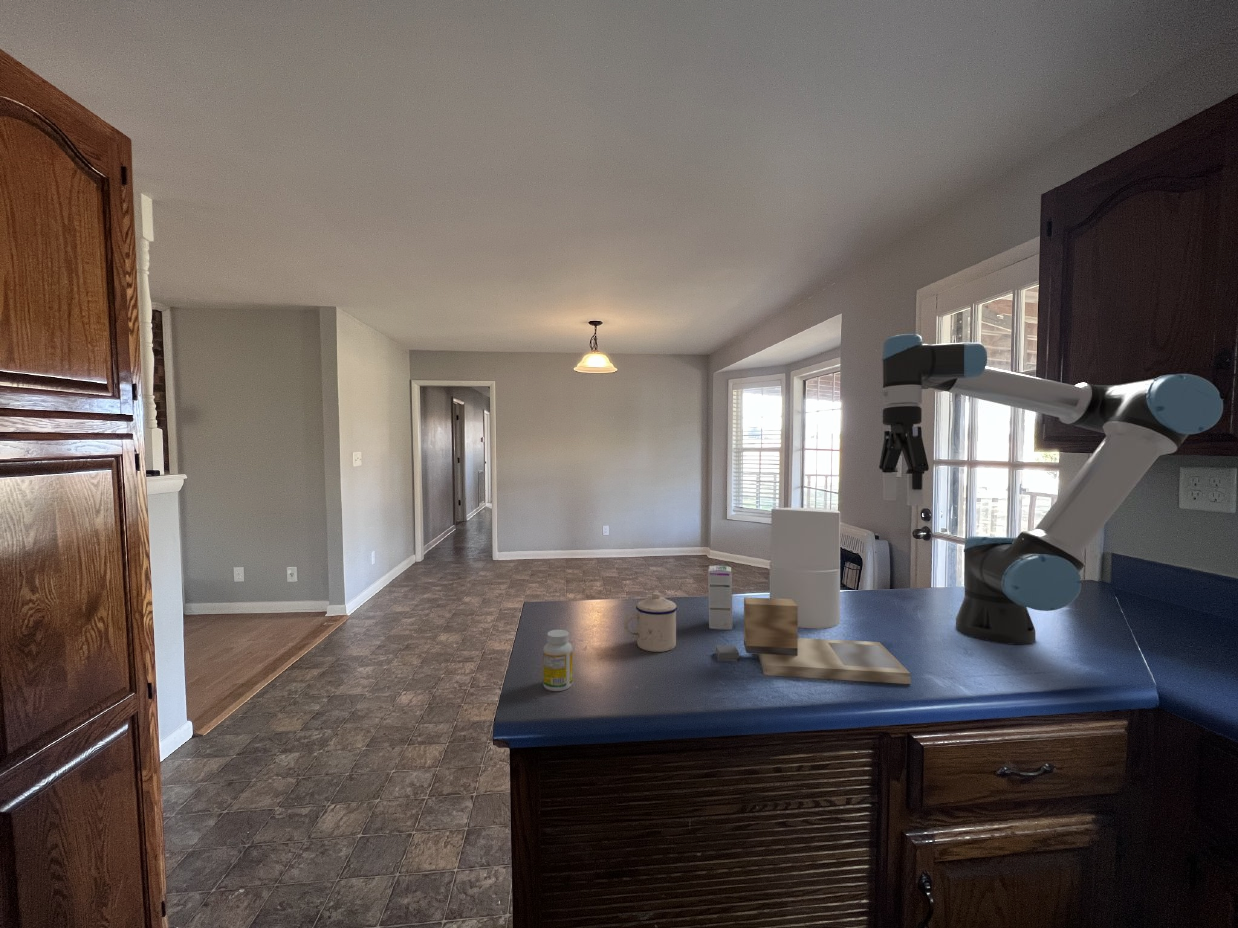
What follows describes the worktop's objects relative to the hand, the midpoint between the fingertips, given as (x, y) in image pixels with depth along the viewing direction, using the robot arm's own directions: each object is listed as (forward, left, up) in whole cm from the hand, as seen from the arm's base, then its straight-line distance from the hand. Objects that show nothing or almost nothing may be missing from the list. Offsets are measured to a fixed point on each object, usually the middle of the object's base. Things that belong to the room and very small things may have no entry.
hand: (901, 503), depth 111 cm
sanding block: (+30, +12, -30) cm, 44 cm away
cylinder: (+17, -18, -32) cm, 40 cm away
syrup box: (+39, -8, -32) cm, 51 cm away
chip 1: (+39, +12, -31) cm, 51 cm away
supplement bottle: (+70, +30, -32) cm, 83 cm away
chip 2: (+39, +12, -31) cm, 51 cm away
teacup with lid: (+55, +8, -32) cm, 64 cm away
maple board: (+19, +12, -32) cm, 39 cm away
